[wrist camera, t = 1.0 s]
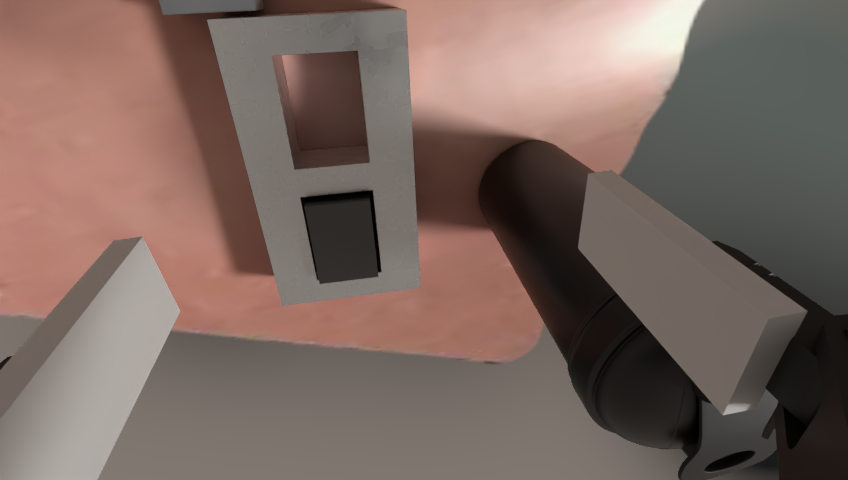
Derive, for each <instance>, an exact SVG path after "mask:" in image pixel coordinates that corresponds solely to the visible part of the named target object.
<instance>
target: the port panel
mask: <svg viewBox="0 0 848 480" xmlns="http://www.w3.org/2000/svg"><path fill="white" fill-rule="evenodd" d="M207 22H208V26H209V29H210V33H211V37H212V41H213V45H214V48H215V52H216V56H217V60H218V64H219V67H220V71H221V75H222V79H223V83H224V86H225V90H226V94H227V98H228V102H229V105H230V109H231V113H232V117H233V121H234V124H235V128H236V132H237V136H238V140H239V143H240V147H241V151H242V155H243V159H244V162H245V166H246V170H247V174H248V178H249V181H250V185H251V189H252V193H253V197H254V200H255V204H256V208H257V212H258V216H259V219H260V223H261V227H262V231H263V235H264V238H265V242H266V246H267V250H268V254H269V257H270V261H271V265H272V269H273V273H274V276H275V280H276V284H277V288H278V292H279V295H280V299H281V303H282V306H285V305H293V304H300V303H308V302H315V301H323V300H331V299H338V298H346V297H354V296H361V295H369V294H377V293H384V292H392V291H399V290H407V289H415V288H420V268H419V249H418V230H417V210H416V191H415V172H414V152H413V133H412V114H411V95H410V75H409V56H408V37H407V17H406V10H405V9H401V8H384V9H364V10H343V11H322V12H302V13H281V14H261V15H240V16H223V17H218V18H213V19H208V20H207ZM342 51H357V56H358V66H359V75H360V84H361V93H362V103H363V112H364V121H365V130H366V140H367V145H360V146H348V147H337V148H326V149H314V150H303V151H300V150H299V145H298V140H297V134H296V129H295V124H294V119H293V114H292V108H291V103H290V98H289V93H288V87H287V82H286V77H285V72H284V67H283V61H282V56H281V55H292V54H309V53H325V52H342ZM369 190H372V195H373V205H374V214H375V223H376V232H377V242H378V246H376V247H375V241H374V232H373V223H372V214H371V206H370V197H369Z"/></svg>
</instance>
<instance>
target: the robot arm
mask: <svg viewBox="0 0 848 480" xmlns="http://www.w3.org/2000/svg"><path fill="white" fill-rule="evenodd" d="M578 249H579V250H580V251H581V252H582V254H583V255H584V256H585V257H586V258H587V259H588V261H589V262H590V263H591V264H592V265H593V266H594V267H595V269H596V270H597V271H598V272H599V273H600V274H601V276H602V277H603V278H604V279H605V280H606V281H607V282H608V284H609V285H610V286H611V287H612V288H613V289H614V291H615V292H616V293H617V294H618V295H619V296H620V297H621V299H622V300H623V301H624V302H625V303H626V304H627V306H628V307H629V308H630V309H631V310H632V311H633V312H634V314H635V315H636V316H637V317H638V318H639V319H640V321H641V322H642V323H643V324H644V325H645V326H646V327H647V329H648V330H649V331H650V332H651V333H652V334H653V336H654V337H655V338H656V339H657V340H658V341H659V343H660V344H661V345H662V346H663V347H664V348H665V349H666V351H667V352H668V353H669V354H670V355H671V356H672V358H673V359H674V360H675V361H676V362H677V363H678V364H679V366H680V367H681V368H682V369H683V370H684V371H685V373H686V374H687V375H688V376H689V377H690V378H691V379H692V381H693V382H694V383H695V384H696V385H697V386H698V388H699V389H700V390H701V391H702V392H703V393H704V394H705V396H706V397H707V398H708V399H709V400H710V401H711V403H712V404H713V405H714V406H715V407H716V408H717V410H718V411H719V412H720V413H721V414H722V415H727V414H732V413H737V412H742V411H747V410H752V409H756V407H757V405H758V403H759V401H760V400H761V398H762V396H763V394H764V392H765V390H766V389H767V390H768V391H769V392H770V393H771V394H772V395H773V396H774V397H775V398H776V399H777V400H778V401H779V403H778V405H777V407H776V409H775V410H774V412H773V414H772V416H771V417H770V419H769V421H768V423H767V424H766V426H765V428H764V430H763V433H762V438H765V439H768V438H769V437H770V435H771V433H772V432H773V431H774V430H775V431H776V443H777V456H778V468H779V480H848V314H846V315H835V316H834V315H833V314H831V313H830V312H828V311H827V310H825V309H824V308H822V307H821V306H820V305H818V304H817V303H815V302H814V301H812V300H811V299H809V298H808V297H806V296H805V295H804V294H802V293H801V292H799V291H798V290H796V289H795V288H793V287H792V286H790V285H789V284H788V283H786V282H785V281H783V280H782V279H780V278H779V277H777V276H776V277H774V276H773V273H771V272H770V271H768V270H767V269H766V268H764V267H763V266H758V263H757V262H756V261H754V260H753V259H751V258H750V257H748V256H747V255H745V254H744V253H743V252H741V251H739V250H737V249H735V248H732V247H730V246H728V245H725V244H723V243H720V242H718V241H712V242H710V241H709V240H708V239H706V238H705V237H704V236H702V235H701V234H700V233H698V232H697V231H695V230H694V229H692V228H691V227H690V226H688V225H687V224H686V223H684V222H683V221H681V220H680V219H679V218H677V217H676V216H674V215H673V214H672V213H670V212H669V211H667V210H666V209H665V208H663V207H662V206H660V205H659V204H658V203H656V202H655V201H653V200H652V199H651V198H649V197H648V196H647V195H645V194H644V193H642V192H641V191H640V190H638V189H637V188H635V187H634V186H633V185H631V184H630V183H628V182H627V181H626V180H624V179H623V178H622V177H620V176H619V175H617V174H616V173H615V172H613V171H612V170H610V171H603V172H596V173H589V174H588V178H587V185H586V193H585V200H584V207H583V214H582V221H581V229H580V236H579V243H578ZM179 312H180V310H179V308H178V306H177V304H176V302H175V300H174V298H173V296H172V294H171V292H170V290H169V288H168V286H167V284H166V282H165V280H164V278H163V276H162V274H161V272H160V270H159V268H158V266H157V264H156V262H155V260H154V258H153V256H152V254H151V252H150V250H149V248H148V247H147V245H146V243H145V241H144V239H143V237H137V238H130V239H122V240H115V241H113V242H112V243H111V244H110V245H109V247H108V248H107V249H106V250H105V251H104V252H103V253H102V255H101V256H100V257H99V258H98V259H97V260H96V261H95V263H94V264H93V265H92V266H91V267H90V268H89V269H88V271H87V272H86V273H85V274H84V275H83V276H82V277H81V279H80V280H79V281H78V282H77V283H76V284H75V285H74V287H73V288H72V289H71V290H70V291H69V292H68V293H67V295H66V296H65V297H64V298H63V299H62V300H61V301H60V303H59V304H58V305H57V306H56V307H55V308H54V309H53V311H52V312H51V313H50V314H49V315H48V316H47V317H46V319H45V320H44V321H43V322H42V323H41V324H40V326H38V328H37V329H36V330H35V331H34V332H33V333H32V334H31V336H30V337H29V338H28V339H27V340H26V342H25V343H24V344H23V345H22V346H21V347H20V348H19V349H18V351H17V352H16V353H15V354H14V355H13V356H10V357H7V358H6V359H5V360H3V361H2V362H1V363H0V480H97V479H98V477H99V475H100V473H101V471H102V469H103V467H104V465H105V463H106V461H107V459H108V457H109V455H110V453H111V451H112V449H113V447H114V445H115V443H116V440H117V438H118V437H119V434H120V432H121V430H122V428H123V426H124V424H125V422H126V420H127V418H128V416H129V414H130V412H131V410H132V408H133V406H134V404H135V402H136V400H137V398H138V396H139V394H140V392H141V390H142V388H143V386H144V384H145V382H146V379H147V377H148V376H149V373H150V371H151V369H152V367H153V365H154V363H155V361H156V359H157V357H158V355H159V353H160V351H161V349H162V347H163V345H164V343H165V341H166V339H167V337H168V335H169V333H170V331H171V329H172V327H173V325H174V323H175V321H176V319H177V317H178V315H179Z"/></svg>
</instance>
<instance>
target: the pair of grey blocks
mask: <svg viewBox="0 0 848 480" xmlns="http://www.w3.org/2000/svg"><path fill="white" fill-rule="evenodd" d="M159 3H160V6H161V10H162V13H163V15H173V14H194V13H215V12H236V11H256V10H261V9H264V5H263V0H159Z"/></svg>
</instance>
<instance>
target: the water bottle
mask: <svg viewBox="0 0 848 480" xmlns="http://www.w3.org/2000/svg"><path fill="white" fill-rule="evenodd" d="M589 173H595V172H594V171H592V170H591V169H590V168H588V167H587V166H585V165H584V164H582V163H581V162H579V161H578V160H576V159H575V158H573V157H572V156H570V155H569V154H567V153H566V152H565V151H563V150H562V149H560V148H559V147H557V146H555V145H553V144H551V143H548V142H542V141H530V142H525V143H521V144H518V145H516V146H513V147H511V148H510V149H508V150H506V151H505V152H503V153H502V154H501V155H499V156H498V157H497V158H496V159H495V160H494V161H493V162H492V164H491V165H490V166H489V167H488V169H487V171H486V172H485V174H484V176H483V178H482V181H481V184H480V188H479V205H480V208H481V211H482V213H483V215H484V217H485V219H486V220H487V222H488V224H489V226H490V227H491V229H492V231H493V233H494V235H495V236H496V238H497V240H498V242H499V243H500V245H501V247H502V249H503V251H504V252H505V254H506V256H507V258H508V259H509V261H510V263H511V265H512V266H513V268H514V270H515V272H516V274H517V275H518V277H519V279H520V281H521V282H522V284H523V286H524V288H525V289H526V291H527V293H528V295H529V297H530V298H531V300H532V302H533V304H534V305H535V307H536V309H537V311H538V312H539V314H540V316H541V318H542V320H543V321H544V323H545V325H546V327H547V328H548V330H549V332H550V334H551V336H552V337H553V339H554V341H555V342H556V344H557V346H558V348H559V350H560V351H561V353H562V355H563V357H564V358H565V360H566V362H567V364H568V372H569V375H570V378H571V382H572V385H573V387H574V389H575V391H576V393H577V394H578V396H579V398H580V400H581V401H582V403H583V404H584V406H585V408H586V409H587V412H588V413H589V415H590V416H591V417H592V419H593V420H594V421H595V422H596V423H597V424H598V425H599V426H601V427H602V428H604V429H606V430H608V431H610V432H613V433H616V434H618V435H619V436H621V437H623V438H624V439H627V440H628V441H631V442H633V443H636V444H639V445H643V446H647V447H653V448H659V449H682V450H683V451H684V452H685V454H687V456H688V457H687V458H686V460H685V461H684V462H683V463H682V465H681V467H680V469H679V471H678V477H679V479H680V480H707V479H710V478H713V477H717V476H721V475H724V474H727V473H730V472H733V471H736V470H739V469H742V468H745V467H748V466H751V465H753V464H755V463H758V462H760V461H762V460H764V459H766V458H767V457H768V456H770V455H771V454H772V453H773V452H774V451H775V450H776V448H777V443H776V431H775V430H774V431H773V432H772V433H771V435H770V437H769V438H768V439H765V438H762V433H763V430H764V428H765V426H766V424H767V423H768V421H769V419H770V417H771V416H772V414H773V412H774V410H775V409H776V407H777V402H778V400H777V399H776V398H775V397H774V396H773V395H772V394H771V393H770V392H769V391H768V390H767V389H766V390H765V392H764V394H763V396H762V398H761V400H760V401H759V403H758V405H757V407H756V409H752V410H747V411H742V412H737V413H732V414H727V415H722V414H721V413H720V412H719V411H718V410H717V408H716V407H715V406H714V405H713V404H712V403H711V401H710V400H709V399H708V398H707V397H706V396H705V394H704V393H703V392H702V391H701V390H700V389H699V388H698V386H697V385H696V384H695V383H694V382H693V381H692V379H691V378H690V377H689V376H688V375H687V374H686V373H685V371H684V370H683V369H682V368H681V367H680V366H679V364H678V363H677V362H676V361H675V360H674V359H673V358H672V356H671V355H670V354H669V353H668V352H667V351H666V349H665V348H664V347H663V346H662V345H661V344H660V343H659V341H658V340H657V339H656V338H655V337H654V336H653V334H652V333H651V332H650V331H649V330H648V329H647V327H646V326H645V325H644V324H643V323H642V322H641V321H640V319H639V318H638V317H637V316H636V315H635V314H634V312H633V311H632V310H631V309H630V308H629V307H628V306H627V304H626V303H625V302H624V301H623V300H622V299H621V297H620V296H619V295H618V294H617V293H616V292H615V291H614V289H613V288H612V287H611V286H610V285H609V284H608V282H607V281H606V280H605V279H604V278H603V277H602V276H601V274H600V273H599V272H598V271H597V270H596V269H595V267H594V266H593V265H592V264H591V263H590V262H589V261H588V259H587V258H586V257H585V256H584V255H583V254H582V252H581V251H580V250H579V249H578V243H579V236H580V229H581V221H582V214H583V207H584V200H585V193H586V185H587V178H588V174H589Z"/></svg>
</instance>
